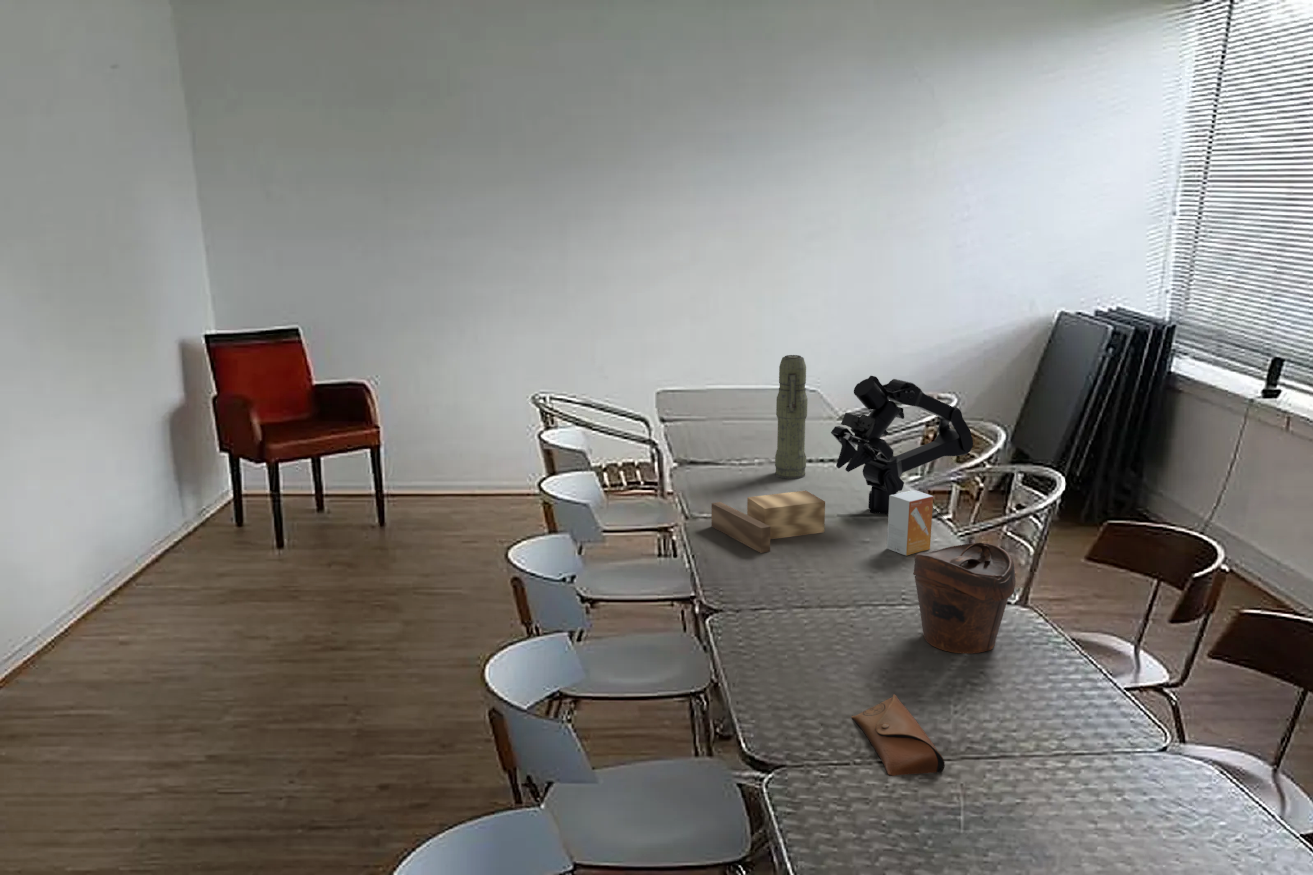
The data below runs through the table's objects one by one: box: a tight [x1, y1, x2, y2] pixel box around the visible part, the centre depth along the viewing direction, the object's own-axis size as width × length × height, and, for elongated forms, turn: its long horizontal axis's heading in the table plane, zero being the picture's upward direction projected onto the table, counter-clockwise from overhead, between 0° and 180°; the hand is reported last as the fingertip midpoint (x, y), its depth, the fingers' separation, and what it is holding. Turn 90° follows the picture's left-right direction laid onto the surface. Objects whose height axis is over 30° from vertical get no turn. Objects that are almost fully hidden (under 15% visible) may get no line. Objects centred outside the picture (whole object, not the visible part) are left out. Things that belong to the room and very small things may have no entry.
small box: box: [886, 489, 934, 557], centre depth 233 cm, size 8×6×13 cm
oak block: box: [746, 490, 826, 540], centre depth 248 cm, size 16×10×8 cm, turn 109°
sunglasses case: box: [851, 694, 946, 777], centre depth 152 cm, size 18×7×7 cm, turn 9°
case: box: [912, 542, 1017, 655], centre depth 185 cm, size 18×20×18 cm
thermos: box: [774, 354, 808, 480], centre depth 293 cm, size 9×12×35 cm
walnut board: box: [710, 501, 771, 554], centre depth 242 cm, size 2×22×6 cm, turn 28°
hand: (842, 469), depth 253 cm, fingers open, 3 cm apart
